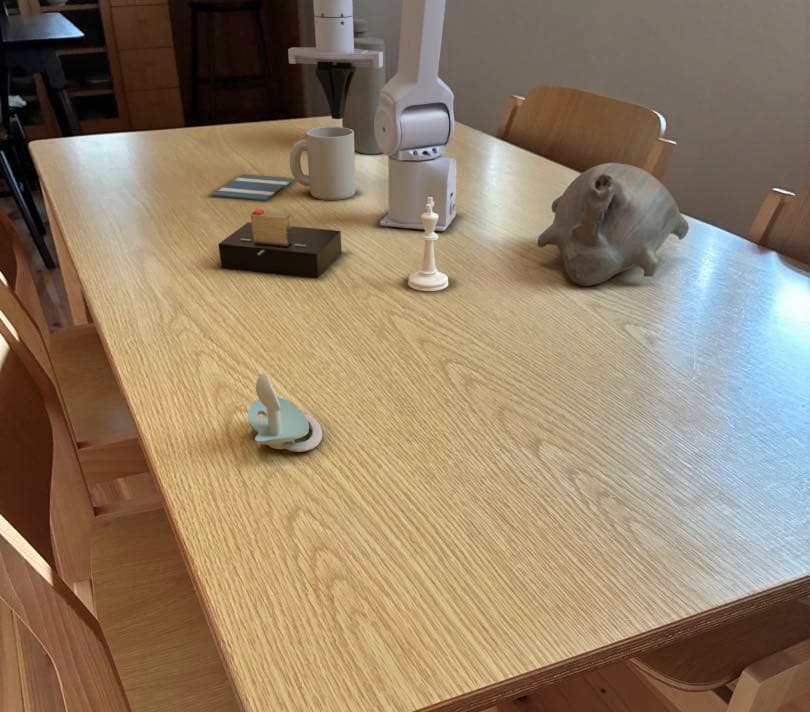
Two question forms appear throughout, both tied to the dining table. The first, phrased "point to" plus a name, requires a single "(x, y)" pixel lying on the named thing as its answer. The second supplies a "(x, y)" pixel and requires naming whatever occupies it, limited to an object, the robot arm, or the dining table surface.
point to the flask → (364, 93)
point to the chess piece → (428, 257)
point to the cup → (326, 162)
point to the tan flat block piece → (271, 228)
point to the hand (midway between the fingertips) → (338, 117)
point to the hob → (282, 252)
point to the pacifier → (281, 420)
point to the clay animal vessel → (612, 223)
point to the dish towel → (253, 187)
